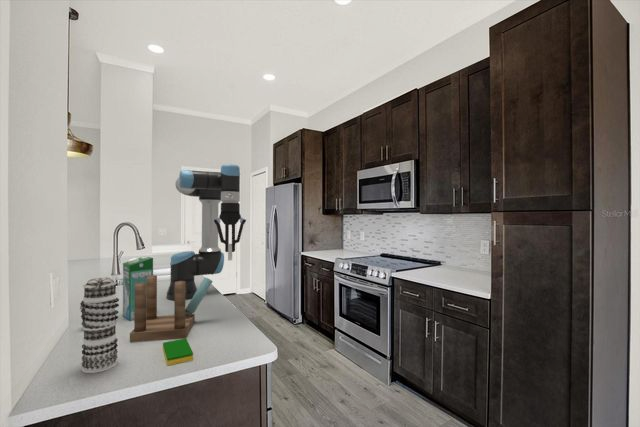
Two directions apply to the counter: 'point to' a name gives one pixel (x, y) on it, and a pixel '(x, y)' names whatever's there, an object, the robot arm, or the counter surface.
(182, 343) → the dish sponge
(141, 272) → the milk carton
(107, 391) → the counter surface
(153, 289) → the walnut stool
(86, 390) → the counter surface
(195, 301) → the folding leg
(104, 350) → the decorative candle
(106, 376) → the counter surface
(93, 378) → the counter surface
